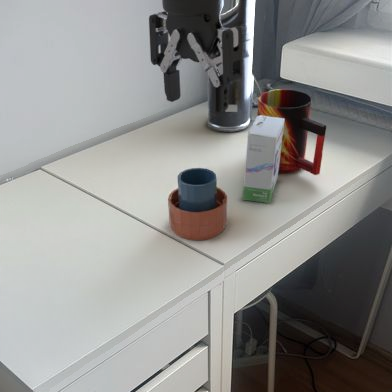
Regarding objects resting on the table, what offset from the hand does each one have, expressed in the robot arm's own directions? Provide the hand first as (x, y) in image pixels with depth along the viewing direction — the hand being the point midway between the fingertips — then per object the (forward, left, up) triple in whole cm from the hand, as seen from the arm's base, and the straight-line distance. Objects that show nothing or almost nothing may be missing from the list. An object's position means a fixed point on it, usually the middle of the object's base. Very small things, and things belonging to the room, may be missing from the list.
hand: (195, 106), depth 71 cm
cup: (0, 0, -18) cm, 18 cm away
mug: (-28, -1, -19) cm, 34 cm away
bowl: (0, 0, -19) cm, 19 cm away
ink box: (-16, +1, -19) cm, 25 cm away
